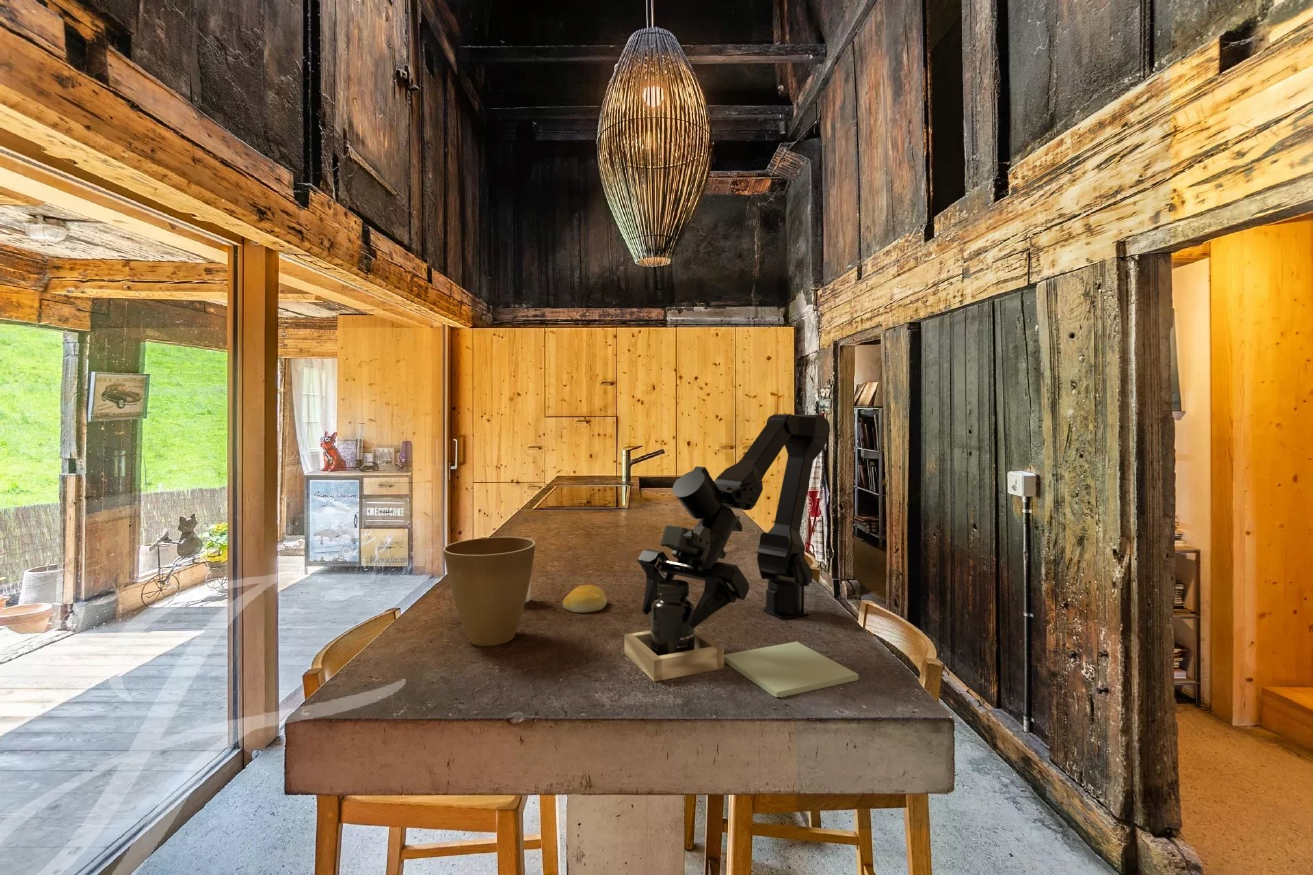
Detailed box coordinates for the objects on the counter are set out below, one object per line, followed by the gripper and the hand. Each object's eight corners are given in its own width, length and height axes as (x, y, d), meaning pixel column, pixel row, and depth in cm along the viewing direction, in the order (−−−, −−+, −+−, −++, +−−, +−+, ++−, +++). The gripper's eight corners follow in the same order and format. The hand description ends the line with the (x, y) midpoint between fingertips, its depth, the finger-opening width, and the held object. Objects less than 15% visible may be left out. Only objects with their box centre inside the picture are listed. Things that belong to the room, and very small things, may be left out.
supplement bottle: (691, 671, 87) (691, 590, 87) (646, 667, 89) (646, 587, 88) (697, 653, 94) (698, 578, 94) (655, 650, 95) (655, 576, 95)
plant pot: (496, 618, 111) (496, 533, 111) (553, 635, 102) (553, 542, 102) (425, 642, 99) (424, 546, 99) (483, 663, 90) (482, 557, 90)
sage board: (796, 646, 97) (796, 641, 97) (858, 679, 84) (858, 674, 84) (722, 660, 91) (722, 654, 91) (776, 698, 79) (776, 692, 79)
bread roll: (558, 613, 115) (558, 592, 115) (573, 599, 124) (573, 580, 124) (599, 615, 114) (599, 594, 113) (611, 601, 122) (611, 582, 122)
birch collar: (688, 642, 99) (688, 624, 99) (724, 668, 88) (724, 647, 88) (624, 653, 94) (624, 634, 94) (653, 681, 84) (653, 660, 84)
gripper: (644, 500, 100) (596, 579, 92) (739, 511, 88) (693, 602, 80) (674, 540, 106) (631, 617, 98) (766, 555, 94) (726, 644, 86)
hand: (667, 619), depth 90 cm, fingers open, 9 cm apart
